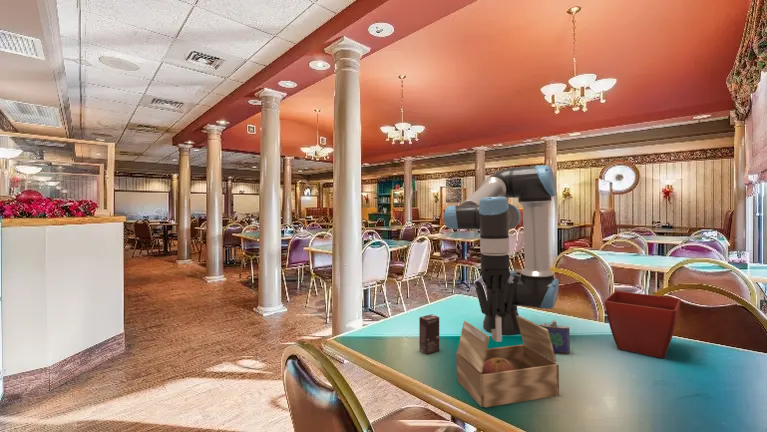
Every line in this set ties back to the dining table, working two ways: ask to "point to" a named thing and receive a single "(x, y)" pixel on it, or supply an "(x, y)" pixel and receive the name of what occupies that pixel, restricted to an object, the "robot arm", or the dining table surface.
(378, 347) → the dining table surface
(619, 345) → the plant pot
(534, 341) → the flap
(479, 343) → the flap
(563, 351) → the flask
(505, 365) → the apple
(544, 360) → the carton
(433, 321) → the box
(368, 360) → the dining table surface
